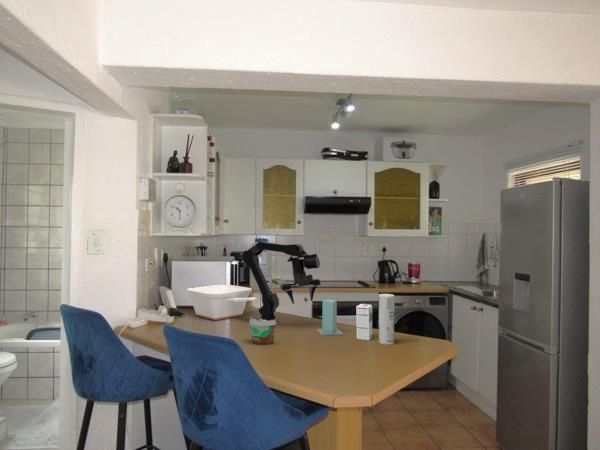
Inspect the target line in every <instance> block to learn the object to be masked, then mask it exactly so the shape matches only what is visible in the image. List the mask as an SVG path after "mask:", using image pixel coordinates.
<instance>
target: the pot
mask: <svg viewBox="0 0 600 450" xmlns="http://www.w3.org/2000/svg"><path fill="white" fill-rule="evenodd" d="M252 290H253V288H251V287H247V286H246V287H245V286H239V285H234V284H233V285H232V284H214V285H205V286H197V287H196V286H195V287H188V288H187V289H186V291H187V294H188V295H189V298H190V300H191V303H192V306H193V309H194V313H195V315H197V316H199V317H202V318H206V319H209V320H214V321H219V320H220V321H221V320H226V319H230V318H235V317H240V316H242V315H243V313H244V310H245V308H246V305H247V302H256V301H257V300H258V297H249V296H250V294H251V293H252Z"/></svg>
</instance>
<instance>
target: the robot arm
mask: <svg viewBox="0 0 600 450" xmlns="http://www.w3.org/2000/svg"><path fill="white" fill-rule="evenodd" d="M263 251H271V252H278V253H283V254H286V255H288V256H289V258H288V259H287V260H286V261H287V263H288V262H291V266H292V268H291V269H292V276H293V283H290V282H284V283H281V284H280V285H279V287H280V290H281V291H283V292H285V293H286V294H287V295H288V297H289V299H290V301H291V303H292V305H294V304H295V300H294V296H293V289H292V288H299V287H302V288H303V287H305V286H306V287H308V288H309V298H310V302H313V299H314V294H315V291H316V289H317V288H318V287H319V286H321V280H320V279H319V278H314V277H313V274H311V273H310V274H307V273H306V271H305V268H306V270H311V269H319V268H320V265H321V262H320V258H319V257H318V253H314V254H309V253H307V252H306V251H305V250H304V246H303V245H302V244H299V243H293V244H291V243H290V244H281V243H274V242H266V241H258V242H257V243H255V244H254V245H253V246H251V247H250V248H249V249H247V250H244V251H243V252H242V254H241V259H242V261H243V262H244V264H245V266H247V267H248V268H249V269H250V271H251V274H252V276H253V278H254V280H255V282H256V284H257V287H258V290H259V291H260V293H261V302H262V306H261V307H260V308H259V309H258V312H259V314H260V319H265V320H268V321H270V320H275V321H276V315H275V312H276V310H277V309H278V308H279V305H280V298H279V297H278V295H277V292H272V291H271V289H270V287H269V284H268V282H267V280H266V278H265V275H264V273H263V271H262V268H261V266H260V259H259V256H260V255H261V254H262V253H263Z"/></svg>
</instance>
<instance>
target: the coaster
mask: <svg viewBox="0 0 600 450" xmlns="http://www.w3.org/2000/svg"><path fill="white" fill-rule="evenodd" d="M316 331H317V332H318V334H319V335H320V336H321V337H332V336H333V337H334V336H344V333H343V331H342V330H340V329H339V328H337V331H335V332H333V333H328V332H322V328H316Z"/></svg>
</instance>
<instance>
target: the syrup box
mask: <svg viewBox="0 0 600 450" xmlns="http://www.w3.org/2000/svg"><path fill="white" fill-rule="evenodd" d="M355 314H356V316H355V317H356V318H355V319H356V339H357V340H361V341H363V340H364V341H370V340H371V339H372V338H373V337H374V336H373V305H372V304H369V303H360V304H359V305H357V306H356V313H355Z"/></svg>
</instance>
